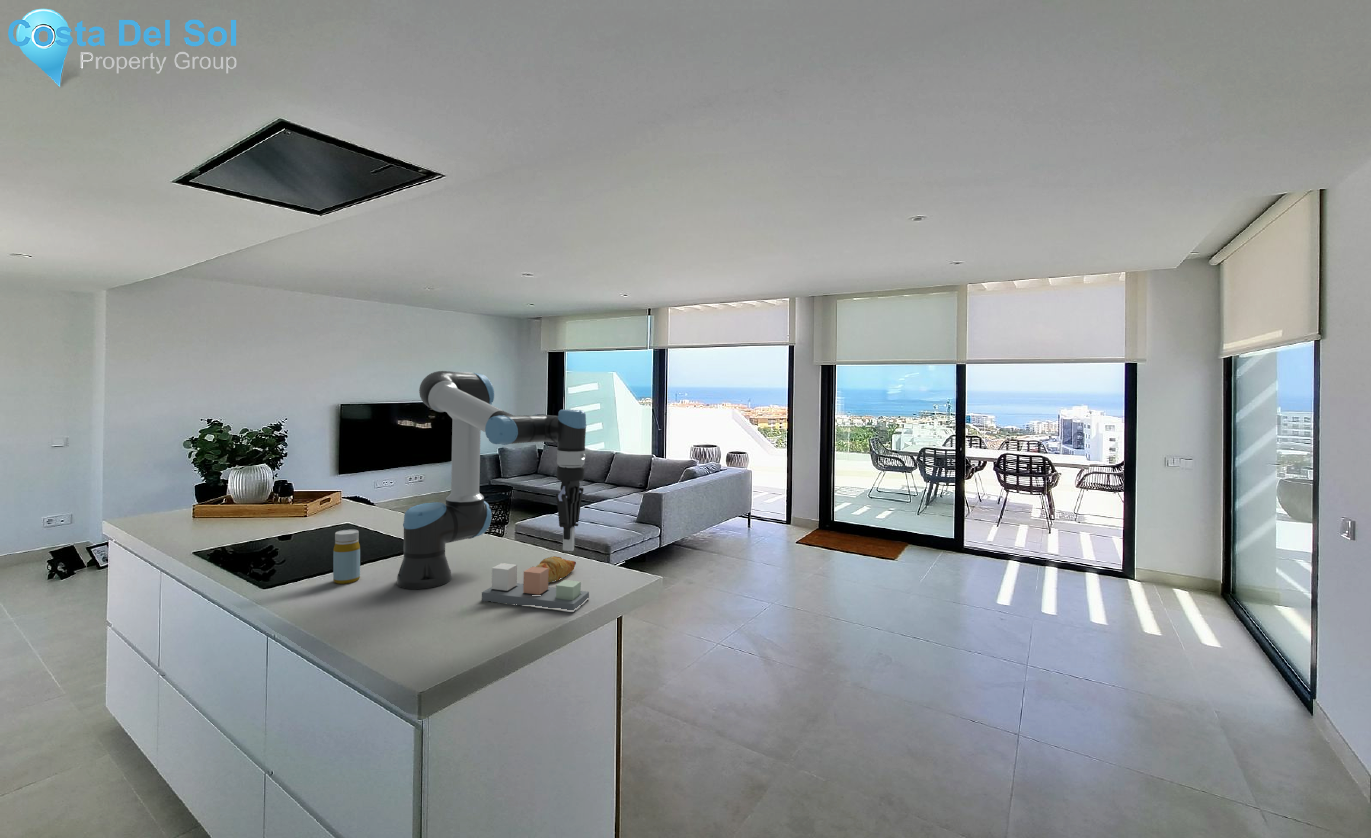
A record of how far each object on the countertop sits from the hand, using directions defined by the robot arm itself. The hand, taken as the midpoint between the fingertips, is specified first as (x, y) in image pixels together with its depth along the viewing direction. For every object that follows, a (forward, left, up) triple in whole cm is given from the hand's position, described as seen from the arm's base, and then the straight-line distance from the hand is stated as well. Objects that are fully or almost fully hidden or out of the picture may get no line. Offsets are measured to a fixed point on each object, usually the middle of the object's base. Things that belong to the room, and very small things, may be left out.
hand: (568, 549), depth 159 cm
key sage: (0, 0, -15) cm, 15 cm away
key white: (-20, 0, -13) cm, 23 cm away
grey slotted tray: (-10, 0, -15) cm, 18 cm away
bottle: (-72, -3, -16) cm, 73 cm away
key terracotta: (-10, 0, -13) cm, 16 cm away
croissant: (-16, +20, -16) cm, 30 cm away
